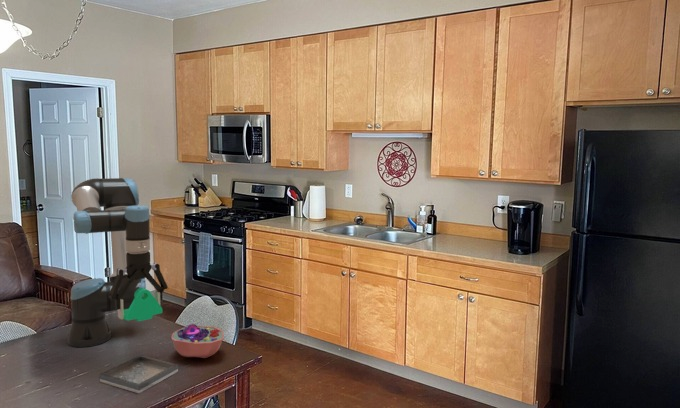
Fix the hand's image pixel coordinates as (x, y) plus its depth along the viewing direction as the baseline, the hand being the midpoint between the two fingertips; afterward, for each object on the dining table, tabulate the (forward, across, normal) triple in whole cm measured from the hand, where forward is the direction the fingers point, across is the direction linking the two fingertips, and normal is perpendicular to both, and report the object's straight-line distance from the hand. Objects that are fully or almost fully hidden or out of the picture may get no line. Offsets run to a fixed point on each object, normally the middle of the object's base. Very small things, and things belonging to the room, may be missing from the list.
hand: (139, 314), depth 169 cm
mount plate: (+19, -3, -6) cm, 20 cm away
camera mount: (+1, 0, -1) cm, 1 cm away
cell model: (+19, +20, -4) cm, 28 cm away
